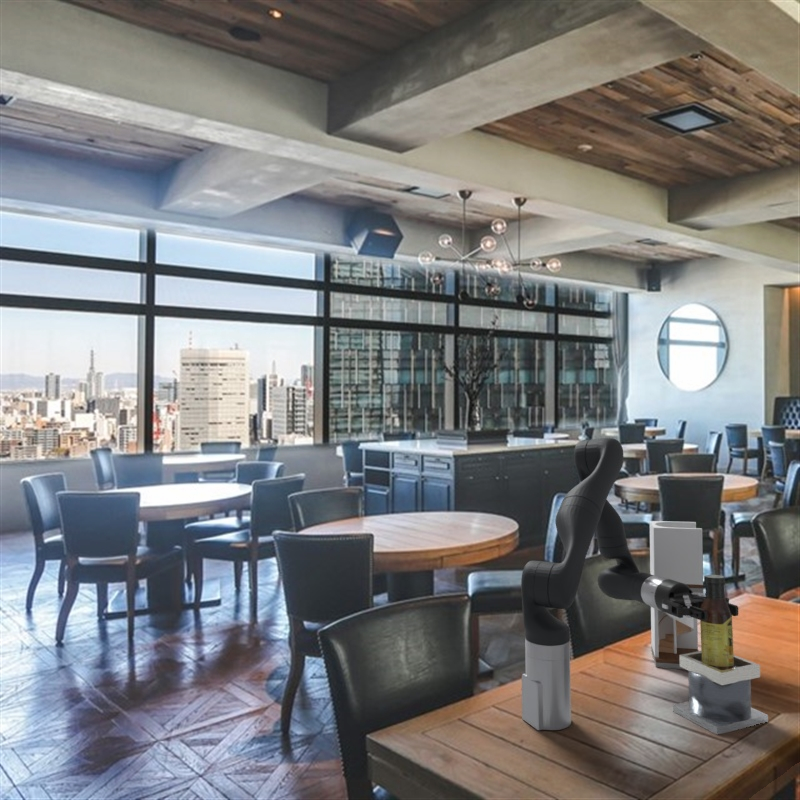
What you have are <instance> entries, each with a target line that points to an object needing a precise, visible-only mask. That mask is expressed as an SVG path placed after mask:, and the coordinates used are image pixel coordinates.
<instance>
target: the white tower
mask: <svg viewBox="0 0 800 800" xmlns="http://www.w3.org/2000/svg"><path fill="white" fill-rule="evenodd" d="M703 549H704V548H703V528H702V527H701V528H700V527H697V522H696V521H673V520H672V521H667V520H664V521H663V520H661V521H660V520H649V570H650V572H649V574H650V575H654V576H658V577H664V578H667V579H671V580H674V581H677V582H681V583H684V584H686V585H687V586H688V587H689V588H690V589H691V591H692V592H693V593H698V594H700V595H704V568H703V565H704V563H703V561H704V560H703V558H704V557H703V553H704V552H703ZM698 628H699V627H698V619H696V618H693V617H691V618H688V617H686V616H684V615H683V618H679V617H676V616H673V615H671V614H668V613H665V612H663V611H660V610H657V609H655V608H653V607H651V606H650V630H651V631H650V634H651V635H650V637H651V638H650V640H651V641H650V642H651V648H650V649H651V650H650V651H651V652H652V653H651V657H652V659H654V660H653V663H654V666H655V668H662V669H663V667H664V669H665V668H666V669H677V670H678V669H679V670H685V669H684V668H682V667H680V658H679V655H682V654H687V653H692V652H698V651H700V650H699V648H698V647H699V646H698V645H699V642H698V641H699V640H698V639H699V638H698V633H699V632H698V631H699V630H698Z"/></svg>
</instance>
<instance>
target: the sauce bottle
mask: <svg viewBox="0 0 800 800" xmlns="http://www.w3.org/2000/svg"><path fill="white" fill-rule="evenodd" d="M725 579H726V578H725V576H723V575H720V574H706V575H703V584H704V585H705V593H704V595H706V598H705V600H704V602H703V603H702V605H701V609H704V610H706V611H707V613H708V620H707V621H701V620H699V621H700V622H699V623H700V646H701V647H700V648H701V649H700V651H702V662H703V663H705V664H707V665H710V666H712V667H715V668H717V669H719V670H726V669H731V668H733V665H734V656H733V655H734V632H733V616H732V614H731V611H730V609H729V606H728V604H727V601H726V598H727V597H726V594H725V583H726V580H725Z"/></svg>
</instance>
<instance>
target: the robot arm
mask: <svg viewBox="0 0 800 800" xmlns="http://www.w3.org/2000/svg"><path fill="white" fill-rule="evenodd" d="M573 460H574V465H575V469H576V472H577V475H578V479H579V481H580V482H579V483H578V484H576V485H575V486H573V488H572V489H570V490H569V491H568V492H567V493H566V495H565V496H564V497H563V498H562V501H561V503H560V506H559V509H558V511H557V514H556V516H555V528H556V531H557V533H558V536H559V538H560V541H561V543H562V545H563V547H564V551H565V555H564V556H565V557H564V559H563V561H562V562H551V561H542V560H529V561H528V562H527V563H526V564H525V565H524V567H523V569H522V572H521V573H522V574H521V578H520V579H521V583H520V588H521V589H520V590H521V591H520V593H521V602H522V603H521V604H522V621H523V623H522V624H523V628H524V639H525V641H524V645H525V646H524V651H525V653H524V654H525V655H524V656H525V657H524V659H525V662H524V663H525V673H522V674H521V714H522V715H521V719H522V720H523V721H524V722H526V723H527V724H529V725H530V726H532V727H533V728H534V729H535V730H537V731H542V730H543V731H544V730H546V731H559V730H564V729H567V728H569V727H570V725H571V724H572V705H571V704H572V700H571V697H572V696H571V695H572V691H571V632H570V627H569V626H568V625H567V623H565V622H564V621H562V620H560V619H559V618H557V617H556V616H554V615H553V614H552V613H551V612H549V610H548V609H547V608H551V609H557V610H567V609H569V608H570V607H571V606H573V605H572V604H573V603H574V601H575V598H576V596H577V593H578V589H579V586H580V582H581V577H582V574H583V569H584V566H585V562H586V558H587V554H588V551H589V549H590V546H591V544H592V540H593V538H594V536H595V535H596V539H597V540H596V541H597V546H598V551H599V553H600V556H601V557H602V558H604V559H607V560H614V559H615V561H616V565H614V566H611V567H607V568H604V569H603V570H601V571H600V572H599V574H598V576H597V585H598V587H599V589H600V591H601V592H602V593H603V594H604V595H605V596H607V597H609V598H611V599H615V600H622V601H637V602H638V603H639V602H640V603H642V604H644V605H646V606H649V607H650V608H651V607H653V608H655V609H657V610H660V611H663V612H665V613H668V614H671V615H673V616H676V617H679V618H683V615H684V616H686V617H688V618H691V617H693V618H696V619H697V620H699V621H700V620H701V621H707V620H708V613H707V611H706V610H704V609H701V605H702V603H703V602H704V600H705V598H706V595H705V594H703V595H700V594H698V593H693V592H692V591H691V589H690V588H689V587H688V586H687V585H686V584H684V583H681V582H677V581H674V580H671V579H667V578H664V577H658V576H654V575H650V573H646V572H641V571H640V570H639V568H638V566H637V563H636V561H635V559H634V558H633V555H632V553H631V551H630V549H629V547H628V541H627V536H626V529H625V526H624V522H623V520H622V517H621V516H620V515H619V513H618V511H617V510H616V508H614V507H613V505H612V504H611V502H610V501H608V496H609V495H610V492H611V491H612V488H613V486H614V484H615V482H616V480H617V478H618V476H619V475H620V472H621V470H622V467H623V463H624V449H623V446H622V444H621V443H620V441H619V440H618V439H615V438H613V437H611V438H610V437H609V438H608V437H603V438H594V439H593V438H592V439H584V440H580V441H578V442H577V443H576V444H575V447H574V449H573ZM725 598H726V601H727V604H728V606H729V609H730V611H731V614H732V617H737V616H739V606H738V605H737V604H733V603H730V598H729V597H725Z"/></svg>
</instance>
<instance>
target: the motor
mask: <svg viewBox="0 0 800 800" xmlns="http://www.w3.org/2000/svg"><path fill="white" fill-rule="evenodd" d="M733 656H734V665H733V668H731V669H726V670H719V669H717V668H715V667H712V666H710V665H707V664H705V663H703V662H702V651H701V650H699V651H698V652H692V653H687V654H682V655H679V658H680V667H682V668H684V669H683V670H687V671H688V701H684V702H679V703H674V704H672V711H673V713H675V714H677V715H679V716H680V717H682V718H684V719H686V720H688V721H690V722H692V723H693V724H696V725H698V726H700V727H702V728H703V729H705V730H707V731H709V732H711V733H713V734H715V735H717V736H718V734H719V735H723V734H726V733H730V732H734V731H739V730H741V729H742V730H743V729H746V727H747V728H750V726H751V727H754V725H755V726H757V725H756V724H759V725H761V724H760V723H763V724H766V723H765V722H767V723H769V714H766V713H765V712H762V711H760V710H758V709H756V708H753V707H752V690H751V689H752V685H751V684H752V683H751V681H752V680H754V679H758V678H761V664H758V663H756V662H754V661H750V660H748V659H745V658H743V657H740V656H738V655H735V654H733ZM738 729H739V730H738Z"/></svg>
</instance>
